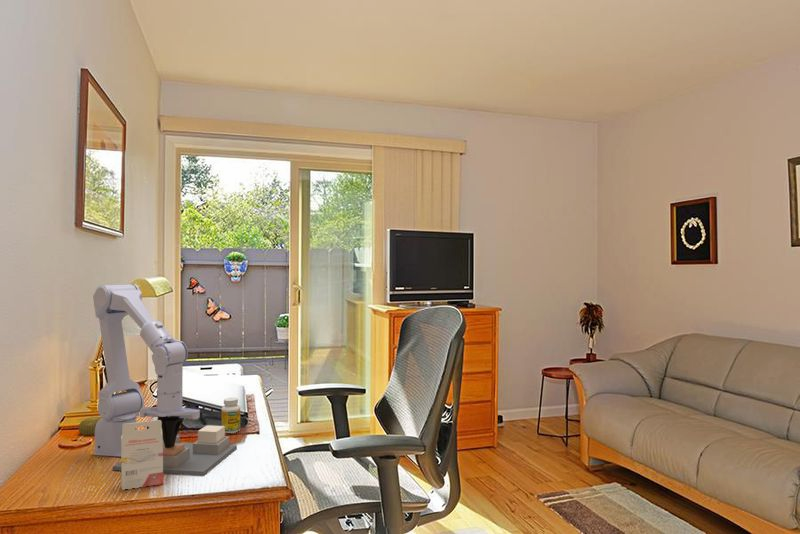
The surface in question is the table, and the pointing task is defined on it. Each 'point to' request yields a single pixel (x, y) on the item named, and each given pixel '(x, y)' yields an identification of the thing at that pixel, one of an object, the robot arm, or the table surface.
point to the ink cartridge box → (142, 455)
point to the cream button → (211, 434)
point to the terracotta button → (173, 449)
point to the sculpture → (85, 427)
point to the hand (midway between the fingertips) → (169, 446)
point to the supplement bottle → (231, 415)
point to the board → (195, 458)
